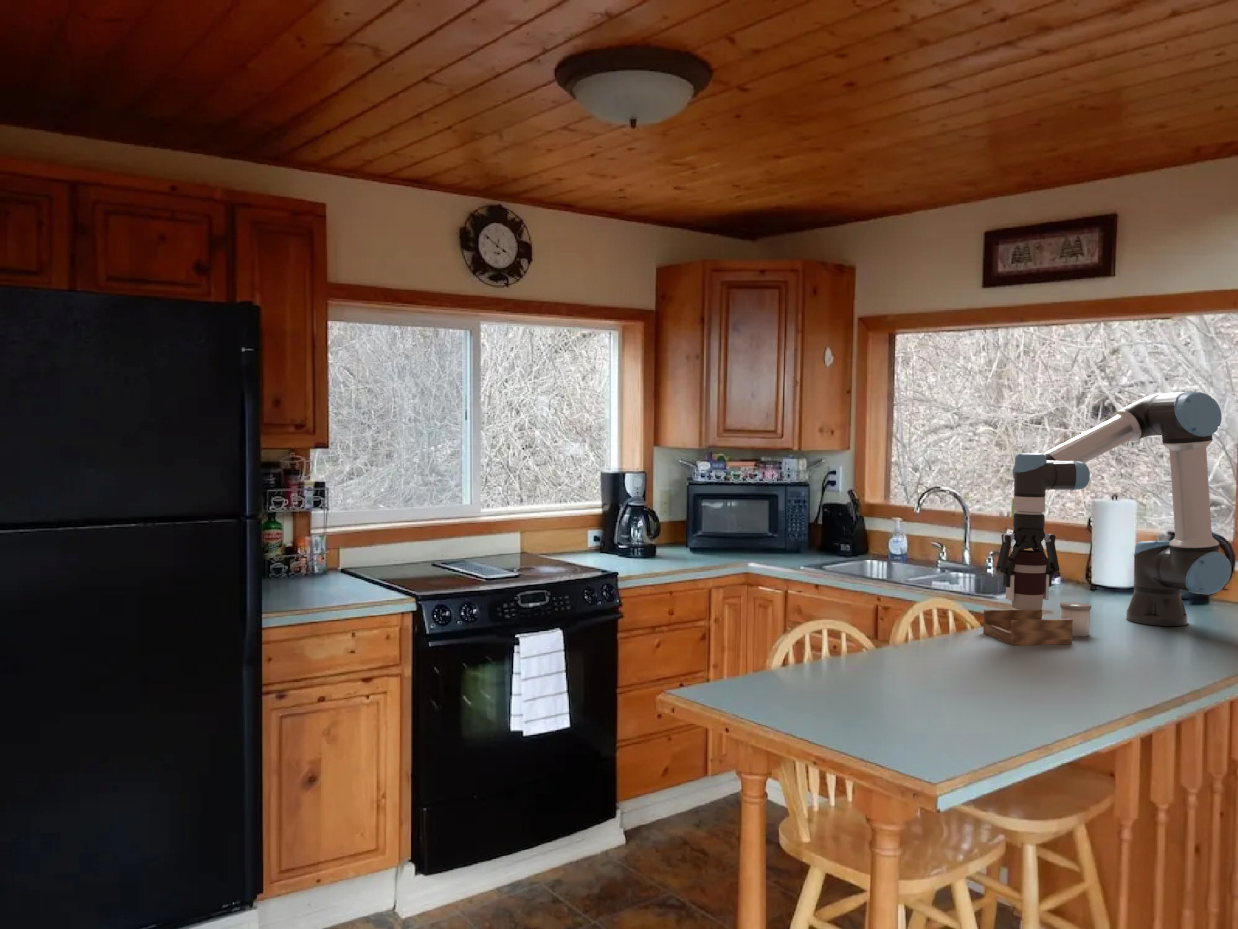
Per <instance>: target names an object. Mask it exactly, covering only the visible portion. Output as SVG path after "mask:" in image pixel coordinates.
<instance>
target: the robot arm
mask: <svg viewBox="0 0 1238 929" xmlns="http://www.w3.org/2000/svg"><path fill="white" fill-rule="evenodd" d="M1222 420H1223V417H1222V411H1221V408H1220V405H1219V403H1218V401H1216V400H1215V399H1214V398H1212V396H1211V395H1209V394H1207V393H1205V392H1202V391H1201V392H1200V391H1188V390H1187V391H1180V392H1178V391H1177V392H1161V393H1159V392H1158V393H1154V394H1150V395H1148V396H1145V397H1143V398H1142V399H1139V400H1137V401H1135V402H1133V403H1131V404H1129V405H1127V406H1125V407H1123V408H1121V409H1119V410H1118V411H1116V412H1115V413H1114V414H1113V417H1112V418H1110V419H1108V420H1106V421H1104V422H1102V423H1100V424H1098V425H1096V426H1093V427H1092V428H1090V429H1088V430H1086V431H1083V432H1082V433H1081V434H1079V435H1076V436H1075V437H1072V438H1071V439H1068V440H1067V441H1065V442H1063V443H1061V444H1059V445H1057V446H1055V447H1053V448H1051V449H1049V450H1047V451H1046V452H1044V453H1026V452H1025V453H1023V452H1022V453H1018V454H1016V456H1015V458H1014V466H1013V468H1012V476H1013V480H1014V482H1013V511H1014V512H1015V513H1014V514H1013V517H1012V526H1013V531H1012V533H1007V534H1006V533H1002V534H1001V546H1000V550H999V554H998V558H997V559H998V560H997V563H996V567H995V571H996V572H999V573H1001V574H1002V576H1003V578H1002V579H1003V580H1002V585H1003V587H1005V599H1006V600H1008V601H1012V600H1014V575H1011V573H1012V571H1013V569H1014V567H1015V564H1013V561H1009V560H1008V556H1009V557H1012V558H1017V556H1018V554H1019V552H1023V551H1024V550H1031V549H1032V550H1034V551H1037V552H1042V553H1043V555H1044V558H1048V559H1049V564H1048V565H1046V583H1045V593H1044V594H1043V601H1044V600H1045V601H1049V598H1050V597H1049V596H1050V595H1049V592H1050V591H1049V590H1050V587H1052V584H1053V582H1052V579H1053V578H1052V577H1053V576H1054V575H1055V574H1056V573H1058V572H1059V571H1060V565H1059V560H1058V555H1057V554H1058V553H1057V549H1056V538H1057V536H1056V535H1055V534H1052V533H1045V531H1044V530H1045V519H1046V516H1045V514H1044V513H1045V512H1046V492H1047V491H1051V490H1053V491H1075V490H1076V491H1077V490H1083V489H1085V488H1086V487H1088V485H1089V482H1090V479H1091V476H1090V474H1091V471H1090V468H1089V466H1088V465H1087V464H1086V463H1087V462H1089V461H1091V460H1093V459H1095V458H1097V457H1099V456H1101V455H1103V454H1106V453H1107V452H1109V451H1111V450H1113V449H1115V448H1117V447H1119V446H1121V445H1123V444H1124V443H1127V442H1130V443H1131V442H1132V443H1133V442H1134V443H1135V442H1136V441H1139V440H1140V439H1143V438H1147V437H1153V436H1161V440H1162V441H1161V443H1162V445H1163V446H1164V447H1166V448H1167V449H1168V450H1169V462H1170V464H1169V465H1170V478H1171V493H1172V494H1171V495H1172V508H1173V524H1174V525H1173V526H1174V538H1173V539H1172V540H1147V541H1143V540H1142V541H1138V542H1137V543H1136V544H1135V548H1134V549H1135V550H1134V553H1133V557H1134V559H1133V561H1134V562H1133V564H1134V566H1133V569H1134V570H1133V577H1134V578H1133V584H1134V585H1133V593H1132V596H1131V599H1130V602H1129V604H1128V608H1127V609H1126V620H1128V621H1130V622H1133V623H1138V624H1143V625H1150V626H1151V625H1152V626H1161V627H1181V626H1182V627H1183V626H1186V625H1187V624H1188V614H1187V611H1186V608H1185V605H1184V603H1183V599H1182V595H1181V594H1182V592H1181V591H1184V592H1185V591H1186V592H1189V593H1192V594H1195V595H1196V594H1197V595H1200V594H1201V595H1213V594H1216V593H1219V592H1220V591H1221V590H1222V589H1224V586H1226V585H1227V584H1228V582H1229V580H1230V578H1231V575H1232V565H1231V562H1230V559H1229V558H1227V556H1226V555H1225V554H1224V553H1222V552H1221V551H1220V542H1219V541H1218V540H1217V539H1215V538H1214V537H1213V531H1212V530H1213V529H1212V518H1211V517H1212V514H1211V504H1210V503H1211V501H1210V486H1209V482H1210V481H1209V470H1208V453H1207V448H1208V446H1209V445H1210V444H1211V443H1213V434H1214V433H1216V432H1217V431H1218V429H1219V427H1220V426H1221V424H1222ZM1013 540H1014V541H1013ZM1043 540H1044V543H1045V549H1046V553H1045V549H1044V546H1043V543H1042V542H1043ZM1012 542H1014V544H1013V546H1012ZM1011 548H1012V550H1011ZM1010 551H1011V553H1010ZM1007 560H1008V561H1007Z"/></svg>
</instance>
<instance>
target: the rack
mask: <svg viewBox="0 0 1238 929" xmlns="http://www.w3.org/2000/svg"><path fill="white" fill-rule="evenodd" d="M982 624H983V625H982V626H983V627H982V628H983V629H982V631H983V634H986V635H988V636H990V637H992V638H995V639H997V638H998V639H997V640H999V639H1000V640H999V641H1001V640H1002V642H1004V643H1006V644H1009V645H1011V644H1012V645H1011V646H1035V645H1036V646H1037V645H1039V646H1040V645H1042V646H1043V645H1072V644H1073V636H1072V628H1073V620H1072V619H1061V618H1049V619H1047V618H1045V619H1043V608H1042V609H1041V610H1038V611H1026V610H1018V609H1015V608H1013V609H1012V608H1011V609H1009V608H1008V609H1006V608H1005V609H983V623H982Z"/></svg>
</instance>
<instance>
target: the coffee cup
mask: <svg viewBox="0 0 1238 929" xmlns="http://www.w3.org/2000/svg"><path fill="white" fill-rule="evenodd" d="M1009 556H1010V555H1009ZM1009 556H1008V560H1009V561H1013V564H1015V567H1014V569H1013V571H1012V573H1011V575H1014V600H1011V607H1012V608H1013V609H1018V610H1026V611H1038V610H1041V609H1042V610H1043V605H1044V604H1043V603H1044V602H1043V601H1044V599H1043V594H1044V593H1045V583H1046V565H1048V564H1049V559H1048V557H1047V558H1044V555H1043V553H1042V552H1037V551H1034V550H1033V549H1032V550H1031V549H1024V551H1023V552H1019V554H1018V556H1017V558H1012V557H1009ZM1008 560H1007V561H1008Z"/></svg>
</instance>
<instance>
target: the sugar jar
mask: <svg viewBox="0 0 1238 929" xmlns="http://www.w3.org/2000/svg"><path fill="white" fill-rule="evenodd" d="M1059 608H1060V619H1072V620H1073V628H1072V637H1078V636H1083V637H1089V636H1090V633H1091V632H1090V627H1091V626H1090V625H1091V624H1090V623H1091V622H1090V620H1091V619H1090V618H1091V610H1092V605H1091V604H1088V603H1083V602H1074V601H1071V602H1070V601H1065V602H1060V603H1059Z"/></svg>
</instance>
